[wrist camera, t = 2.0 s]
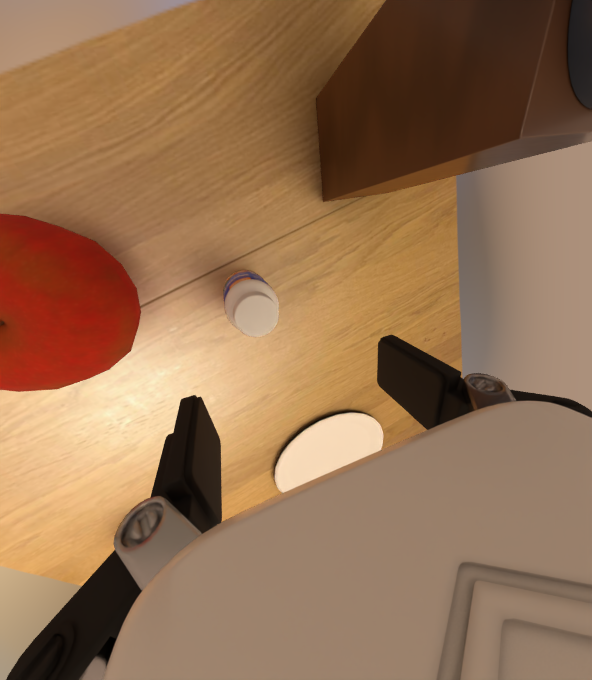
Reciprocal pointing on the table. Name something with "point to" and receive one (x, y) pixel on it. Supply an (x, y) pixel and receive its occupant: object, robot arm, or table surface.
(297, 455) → the plate
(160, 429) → the table surface
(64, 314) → the apple
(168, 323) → the table surface
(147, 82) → the table surface
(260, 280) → the pill bottle
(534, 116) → the stand
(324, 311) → the table surface
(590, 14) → the tin
